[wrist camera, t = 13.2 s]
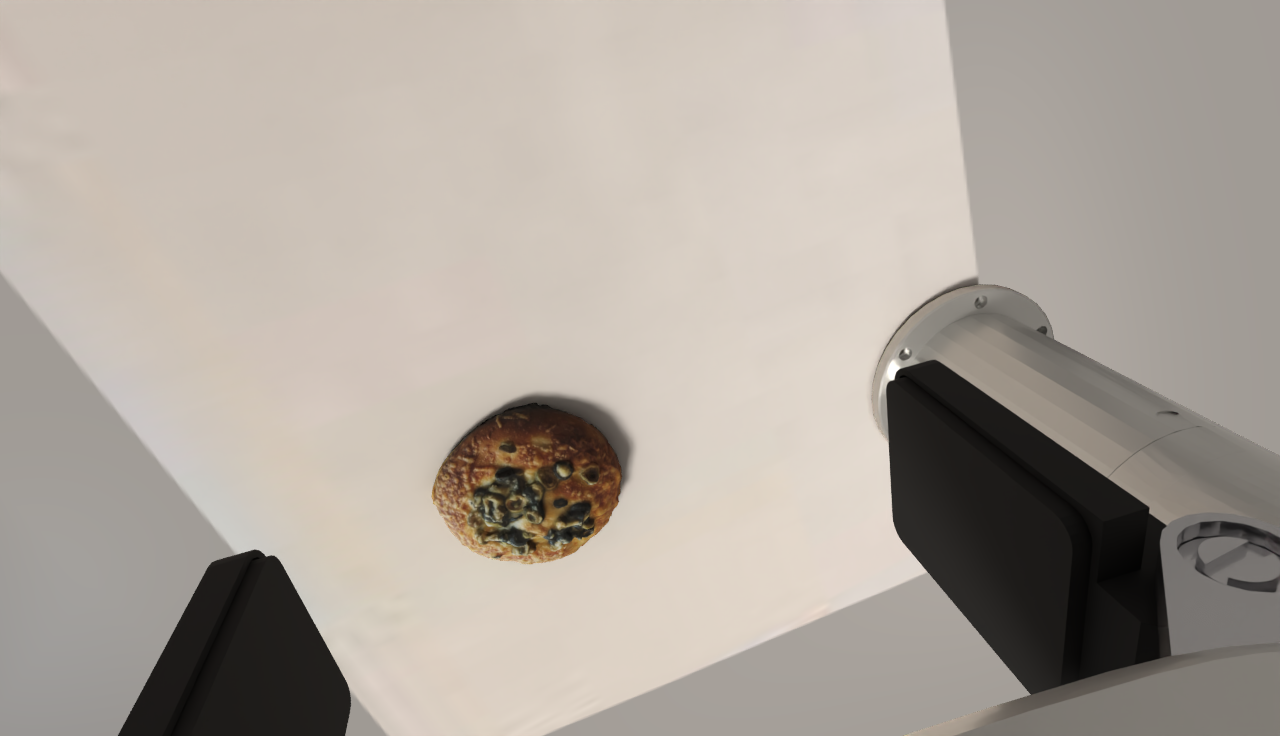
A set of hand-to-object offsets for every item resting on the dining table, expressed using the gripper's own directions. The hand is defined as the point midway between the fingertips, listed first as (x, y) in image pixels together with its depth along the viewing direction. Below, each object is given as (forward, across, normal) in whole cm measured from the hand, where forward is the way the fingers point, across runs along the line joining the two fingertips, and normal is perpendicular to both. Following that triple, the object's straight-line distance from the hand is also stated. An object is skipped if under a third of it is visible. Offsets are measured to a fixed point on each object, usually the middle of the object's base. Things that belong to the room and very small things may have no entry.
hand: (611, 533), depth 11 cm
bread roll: (+29, +4, +17) cm, 34 cm away
